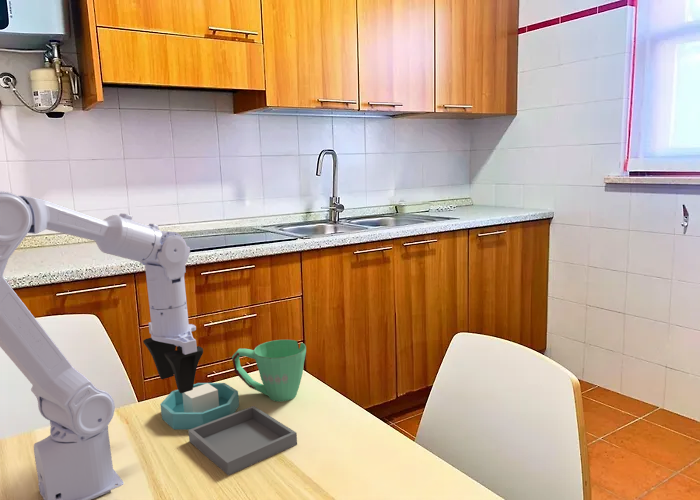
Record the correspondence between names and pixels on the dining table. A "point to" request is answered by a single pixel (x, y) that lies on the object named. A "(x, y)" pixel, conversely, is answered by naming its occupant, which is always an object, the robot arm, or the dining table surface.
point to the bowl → (188, 420)
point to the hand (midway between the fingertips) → (176, 383)
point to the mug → (274, 368)
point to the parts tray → (242, 439)
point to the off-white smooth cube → (200, 399)
